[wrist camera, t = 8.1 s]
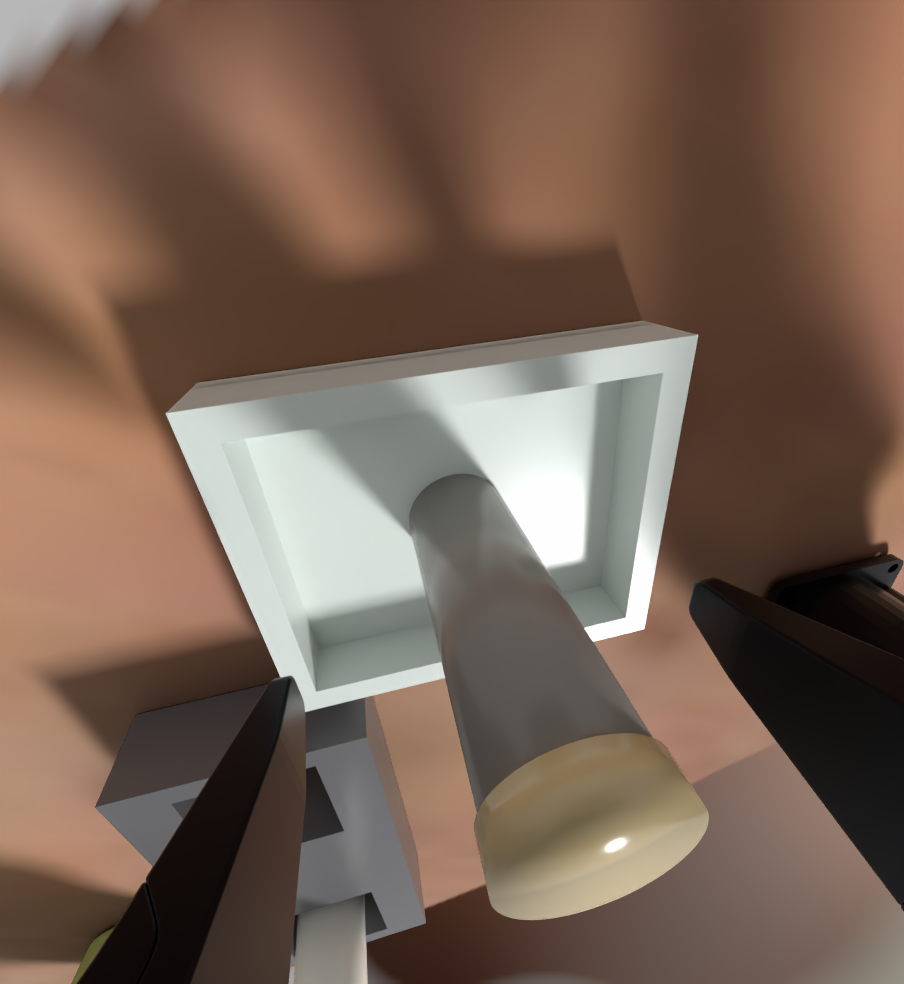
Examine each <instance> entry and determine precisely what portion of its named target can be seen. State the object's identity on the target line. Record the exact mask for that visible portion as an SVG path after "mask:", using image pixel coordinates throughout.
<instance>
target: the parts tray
mask: <svg viewBox="0 0 904 984" xmlns="http://www.w3.org/2000/svg"><path fill="white" fill-rule="evenodd" d="M697 340H698V335H697V334H693V333H689V332H685V331H682V330H678V329H674V328H670V327H666V326H662V325H658V324H655V323H651V322H647V321H636V322H629V323H622V324H615V325H607V326H600V327H593V328H586V329H579V330H572V331H564V332H557V333H550V334H543V335H536V336H529V337H521V338H514V339H507V340H500V341H493V342H486V343H478V344H471V345H464V346H457V347H450V348H443V349H435V350H428V351H421V352H414V353H407V354H400V355H392V356H385V357H378V358H371V359H364V360H356V361H349V362H342V363H335V364H328V365H321V366H313V367H306V368H299V369H292V370H285V371H278V372H270V373H263V374H256V375H249V376H242V377H235V378H227V379H220V380H213V381H206V382H199V383H196V384H195V385H194V386H193V387H192V388H191V389H190V390H189V391H188V392H187V393H186V394H185V395H184V396H183V397H182V398H181V399H180V400H179V401H178V402H177V403H176V404H175V405H174V406H173V407H172V408H171V409H170V410H168V411H167V412H166V415H167V418H168V420H169V422H170V425H171V427H172V429H173V432H174V434H175V436H176V438H177V441H178V443H179V445H180V448H181V450H182V452H183V455H184V457H185V459H186V461H187V464H188V466H189V468H190V471H191V473H192V475H193V477H194V480H195V482H196V484H197V487H198V489H199V491H200V494H201V496H202V498H203V500H204V503H205V505H206V507H207V510H208V512H209V514H210V517H211V519H212V521H213V523H214V526H215V528H216V530H217V533H218V535H219V537H220V540H221V542H222V544H223V546H224V549H225V551H226V553H227V556H228V558H229V560H230V563H231V565H232V567H233V569H234V572H235V574H236V576H237V579H238V581H239V583H240V586H241V588H242V590H243V592H244V595H245V597H246V599H247V602H248V604H249V606H250V609H251V611H252V613H253V615H254V618H255V620H256V622H257V625H258V627H259V629H260V632H261V634H262V636H263V638H264V641H265V643H266V645H267V648H268V650H269V652H270V655H271V657H272V659H273V661H274V664H275V666H276V668H277V671H278V673H279V675H280V677H285V676H293V677H294V679H295V681H296V683H297V686H298V688H299V691H300V693H301V696H302V698H303V701H304V706H305V712H307V711H311V710H316V709H320V708H324V707H328V706H332V705H336V704H340V703H344V702H348V701H352V700H356V699H361V698H365V697H369V696H373V695H377V694H381V693H385V692H389V691H393V690H397V689H401V688H405V687H410V686H414V685H418V684H422V683H426V682H430V681H434V680H438V679H442V678H445V675H444V671H443V667H442V662H441V658H440V654H439V650H438V645H437V641H436V637H435V633H434V628H433V624H432V620H431V616H430V611H429V607H428V603H427V599H426V595H425V590H424V586H423V582H422V578H421V573H420V569H419V565H418V561H417V556H416V552H415V548H414V544H413V539H412V535H411V531H410V527H409V515H410V510H411V507H412V505H413V503H414V501H415V499H416V498H417V496H418V495H419V494H420V493H421V492H422V490H423V489H425V488H426V487H427V486H428V485H430V484H431V483H433V482H434V481H436V480H438V479H440V478H443V477H445V476H449V475H453V474H472V475H476V476H479V477H482V478H484V479H486V480H487V481H489V482H490V483H492V484H493V485H494V486H495V487H496V489H497V490H498V492H499V493H500V495H501V496H502V498H503V499H504V501H505V503H506V504H507V506H508V507H509V509H510V511H511V512H512V514H513V515H514V517H515V519H516V520H517V522H518V523H519V525H520V527H521V528H522V530H523V531H524V533H525V534H526V536H527V538H528V539H529V541H530V542H531V544H532V546H533V547H534V549H535V550H536V552H537V554H538V555H539V557H540V558H541V560H542V562H543V563H544V565H545V566H546V568H547V570H548V571H549V573H550V574H551V576H552V578H553V579H554V581H555V582H556V584H557V585H558V587H559V589H560V590H561V592H562V593H563V595H564V597H565V598H566V600H567V601H568V603H569V605H570V606H571V608H572V609H573V611H574V613H575V614H576V616H577V617H578V619H579V621H580V622H581V624H582V625H583V627H584V629H585V630H586V632H587V633H588V635H589V636H590V638H591V640H592V641H598V640H602V639H606V638H610V637H614V636H618V635H622V634H626V633H630V632H634V631H638V630H642V629H644V628H645V622H646V617H647V612H648V606H649V601H650V595H651V590H652V584H653V579H654V574H655V568H656V563H657V557H658V552H659V546H660V541H661V536H662V530H663V525H664V519H665V514H666V509H667V503H668V498H669V492H670V487H671V481H672V476H673V471H674V465H675V460H676V454H677V449H678V443H679V438H680V433H681V427H682V422H683V416H684V411H685V405H686V400H687V395H688V389H689V384H690V378H691V373H692V367H693V362H694V357H695V351H696V346H697Z"/></svg>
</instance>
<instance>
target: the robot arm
mask: <svg viewBox="0 0 904 984" xmlns="http://www.w3.org/2000/svg"><path fill="white" fill-rule="evenodd" d="M902 566H903V560H901V559H899V558H897V557H896V556H894V555H892V554H888V555H884V556H880V557H876V558H871V559H867V560H863V561H859V562H855V563H851V564H846V565H842V566H838V567H834V568H830V569H825V570H821V571H817V572H813V573H809V574H805V575H800V576H796V577H792V578H788V579H784V580H781V581H779V582H777V583H776V584H775V585H774V586H773V587H772V588H771V590H770V593H769V595H768V598H767V600H765V599H763V598H761V597H758V596H756V595H754V594H752V593H749V592H747V591H745V590H742V589H740V588H738V587H735V586H733V585H731V584H728V583H726V582H724V581H721V580H719V579H716V578H709V579H704V580H700V581H697V582H696V583H695V585H694V588H693V593H692V597H691V601H690V605H689V611H690V615H691V617H692V619H693V621H694V622H695V624H696V626H697V627H698V629H699V630H700V632H701V634H702V635H703V637H704V639H705V640H706V642H707V644H708V645H709V647H710V648H711V650H712V652H713V653H714V655H715V657H716V658H717V660H718V661H719V663H720V665H721V666H722V668H723V669H724V671H725V672H726V674H727V675H728V677H729V678H730V680H731V681H732V683H733V684H734V685H735V687H736V688H737V690H738V691H739V692H740V694H741V695H742V696H743V698H744V699H745V700H746V702H747V703H748V704H749V706H750V707H751V708H752V709H753V711H754V712H755V713H756V715H757V716H758V717H759V719H760V720H761V721H762V723H763V724H764V725H765V727H766V728H767V729H768V731H769V732H770V733H771V735H772V736H773V737H774V739H775V740H776V741H777V743H778V744H779V745H780V747H781V748H782V749H783V751H784V752H785V753H786V755H787V756H788V757H789V759H790V760H791V761H792V763H793V764H794V765H795V767H796V768H797V769H798V771H799V772H800V773H801V775H802V776H803V777H804V778H805V780H806V781H807V783H808V784H809V785H810V787H811V788H812V789H813V791H814V792H815V793H816V795H817V796H818V797H819V798H820V800H821V801H822V803H823V804H824V805H825V807H826V808H827V809H828V810H829V812H830V813H831V814H832V816H833V817H834V819H835V820H836V821H837V823H838V824H839V825H840V827H841V828H842V829H843V831H844V832H845V833H846V835H847V836H848V837H849V839H850V840H851V841H852V843H853V844H854V845H855V847H856V848H857V849H858V851H859V852H860V853H861V855H862V856H863V857H864V858H865V860H866V861H867V862H868V864H869V865H870V866H871V868H872V869H873V871H874V872H875V873H876V875H877V876H878V877H879V879H880V880H881V881H882V882H883V884H884V885H885V886H886V888H887V889H888V891H889V892H890V893H891V895H892V896H893V897H894V899H895V900H896V901H897V902H898V904H900V905H901V908H902V910H903V911H904V596H903V595H902V594H900V593H899V592H897V591H895V590H894V589H892V588H891V586H892V584H893V582H894V581H895V579H896V577H897V575H898V573H899V571H900V570H901V568H902ZM305 799H306V737H305V706H304V701H303V698H302V696H301V693H300V691H299V688H298V686H297V683H296V681H295V679H294V677H293V676H285V677H280V678H276V679H273V680H271V681H270V682H269V684H268V685H267V687H266V688H265V690H264V692H263V693H262V695H261V696H260V698H259V699H258V701H257V703H256V704H255V706H254V707H253V709H252V711H251V712H250V714H249V715H248V717H247V718H246V720H245V722H244V723H243V725H242V726H241V728H240V730H239V731H238V733H237V734H236V736H235V737H234V739H233V741H232V742H231V744H230V745H229V747H228V749H227V750H226V752H225V753H224V755H223V756H222V758H221V760H220V761H219V763H218V764H217V766H216V768H215V769H214V771H213V772H212V774H211V776H210V777H209V779H208V780H207V782H206V783H205V785H204V787H203V788H202V790H201V791H200V793H199V795H198V796H197V798H196V799H195V801H194V802H193V804H192V806H191V807H190V809H189V810H188V812H187V814H186V815H185V817H184V818H183V820H182V821H181V823H180V825H179V826H178V828H177V829H176V831H175V833H174V834H173V836H172V837H171V839H170V840H169V842H168V844H167V845H166V847H165V848H164V850H163V852H162V853H161V855H160V856H159V858H158V859H157V861H156V863H155V864H154V866H153V867H152V869H151V871H150V872H149V874H148V875H147V877H146V883H143V884H142V885H141V886H140V888H139V889H138V891H137V892H136V894H135V896H134V897H133V899H132V900H131V902H130V904H129V905H128V907H127V908H126V910H125V911H124V913H123V915H122V916H121V918H120V919H119V921H118V922H117V924H116V925H115V927H114V928H113V930H112V931H111V933H110V934H109V936H108V937H107V939H106V940H105V942H104V944H103V945H102V947H101V948H100V950H99V951H98V953H97V954H96V956H95V957H94V959H93V960H92V962H91V963H90V964H89V966H88V967H87V969H86V970H85V972H84V973H83V974H82V976H81V977H80V979H79V980H78V982H77V983H76V984H288V982H289V973H290V962H291V951H292V941H293V930H294V919H295V908H296V898H297V887H298V876H299V865H300V854H301V844H302V833H303V822H304V811H305Z"/></svg>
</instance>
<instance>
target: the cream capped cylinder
mask: <svg viewBox="0 0 904 984" xmlns="http://www.w3.org/2000/svg"><path fill="white" fill-rule="evenodd" d="M409 527H410V531H411V535H412V539H413V544H414V548H415V552H416V556H417V561H418V565H419V569H420V573H421V578H422V582H423V586H424V590H425V595H426V599H427V603H428V607H429V611H430V616H431V620H432V624H433V628H434V633H435V637H436V641H437V645H438V650H439V654H440V658H441V662H442V667H443V671H444V675H445V679H446V684H447V688H448V692H449V696H450V700H451V705H452V709H453V713H454V717H455V722H456V726H457V730H458V734H459V739H460V743H461V747H462V751H463V756H464V760H465V764H466V768H467V773H468V777H469V781H470V785H471V789H472V794H473V798H474V802H475V806H476V811H477V814H476V818H475V822H474V832H475V836H476V841H477V845H478V850H479V854H480V859H481V863H482V868H483V872H484V877H485V881H486V886H487V890H488V894H489V899H490V902H491V905H492V906H493V908H494V909H495V910H496V911H497V912H499V913H500V914H502V915H504V916H506V917H510V918H514V919H523V920H539V919H549V918H557V917H561V916H567V915H571V914H575V913H579V912H582V911H586V910H589V909H592V908H595V907H598V906H601V905H603V904H606V903H609V902H611V901H613V900H616V899H618V898H621V897H623V896H625V895H627V894H629V893H631V892H633V891H635V890H637V889H639V888H641V887H643V886H644V885H646V884H648V883H650V882H651V881H653V880H654V879H656V878H658V877H659V876H661V875H662V874H664V873H665V872H667V871H668V870H669V869H671V868H672V867H674V866H675V865H676V864H677V863H678V862H680V861H681V860H682V859H683V858H684V857H685V856H686V855H687V854H689V853H690V852H691V851H692V849H693V848H694V847H695V846H696V845H697V844H698V842H699V841H700V839H701V838H702V837H703V835H704V833H705V831H706V829H707V825H708V820H709V815H708V811H707V809H706V807H705V806H704V804H703V803H702V801H701V800H700V798H699V797H698V795H697V794H696V792H695V790H694V789H693V787H692V786H691V784H690V783H689V781H688V779H687V778H686V776H685V775H684V773H683V772H682V770H681V769H680V767H679V765H678V764H677V762H676V761H675V759H674V758H673V756H672V755H671V753H670V751H669V750H668V748H667V747H666V746H665V745H664V744H663V743H662V742H660V741H658V740H657V739H655V738H653V737H652V735H651V734H650V732H649V731H648V729H647V727H646V726H645V724H644V723H643V721H642V719H641V718H640V716H639V715H638V713H637V711H636V710H635V708H634V707H633V705H632V703H631V702H630V700H629V699H628V697H627V695H626V694H625V692H624V691H623V689H622V687H621V686H620V684H619V683H618V681H617V680H616V678H615V676H614V675H613V673H612V672H611V670H610V668H609V667H608V665H607V664H606V662H605V660H604V659H603V657H602V656H601V654H600V652H599V651H598V649H597V648H596V646H595V644H594V643H593V641H592V640H591V638H590V636H589V635H588V633H587V632H586V630H585V629H584V627H583V625H582V624H581V622H580V621H579V619H578V617H577V616H576V614H575V613H574V611H573V609H572V608H571V606H570V605H569V603H568V601H567V600H566V598H565V597H564V595H563V593H562V592H561V590H560V589H559V587H558V585H557V584H556V582H555V581H554V579H553V578H552V576H551V574H550V573H549V571H548V570H547V568H546V566H545V565H544V563H543V562H542V560H541V558H540V557H539V555H538V554H537V552H536V550H535V549H534V547H533V546H532V544H531V542H530V541H529V539H528V538H527V536H526V534H525V533H524V531H523V530H522V528H521V527H520V525H519V523H518V522H517V520H516V519H515V517H514V515H513V514H512V512H511V511H510V509H509V507H508V506H507V504H506V503H505V501H504V499H503V498H502V496H501V495H500V493H499V492H498V490H497V489H496V487H495V486H494V485H493V484H492V483H490V482H489V481H487V480H486V479H484V478H482V477H479V476H476V475H472V474H453V475H449V476H445V477H443V478H440V479H438V480H436V481H434V482H433V483H431V484H430V485H428V486H427V487H426V488H425V489H423V490H422V492H421V493H420V494H419V495H418V496H417V498H416V499H415V501H414V503H413V505H412V507H411V510H410V515H409Z"/></svg>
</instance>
